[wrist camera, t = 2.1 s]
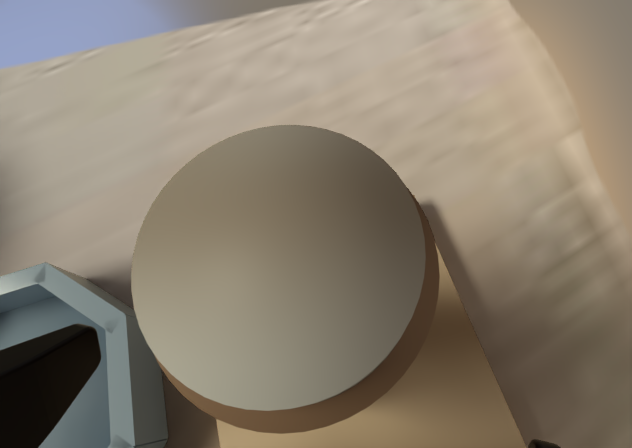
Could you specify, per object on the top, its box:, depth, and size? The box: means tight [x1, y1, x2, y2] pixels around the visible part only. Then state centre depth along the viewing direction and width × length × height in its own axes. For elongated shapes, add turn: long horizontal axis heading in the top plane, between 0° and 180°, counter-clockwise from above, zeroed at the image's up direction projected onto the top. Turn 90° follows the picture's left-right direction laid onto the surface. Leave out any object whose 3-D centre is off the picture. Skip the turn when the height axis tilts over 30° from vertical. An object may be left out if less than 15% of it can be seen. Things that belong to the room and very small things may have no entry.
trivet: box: [216, 195, 527, 448], centre depth 17 cm, size 11×11×1 cm
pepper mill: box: [131, 125, 440, 434], centre depth 11 cm, size 5×5×12 cm
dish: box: [0, 263, 168, 448], centre depth 16 cm, size 12×12×3 cm
